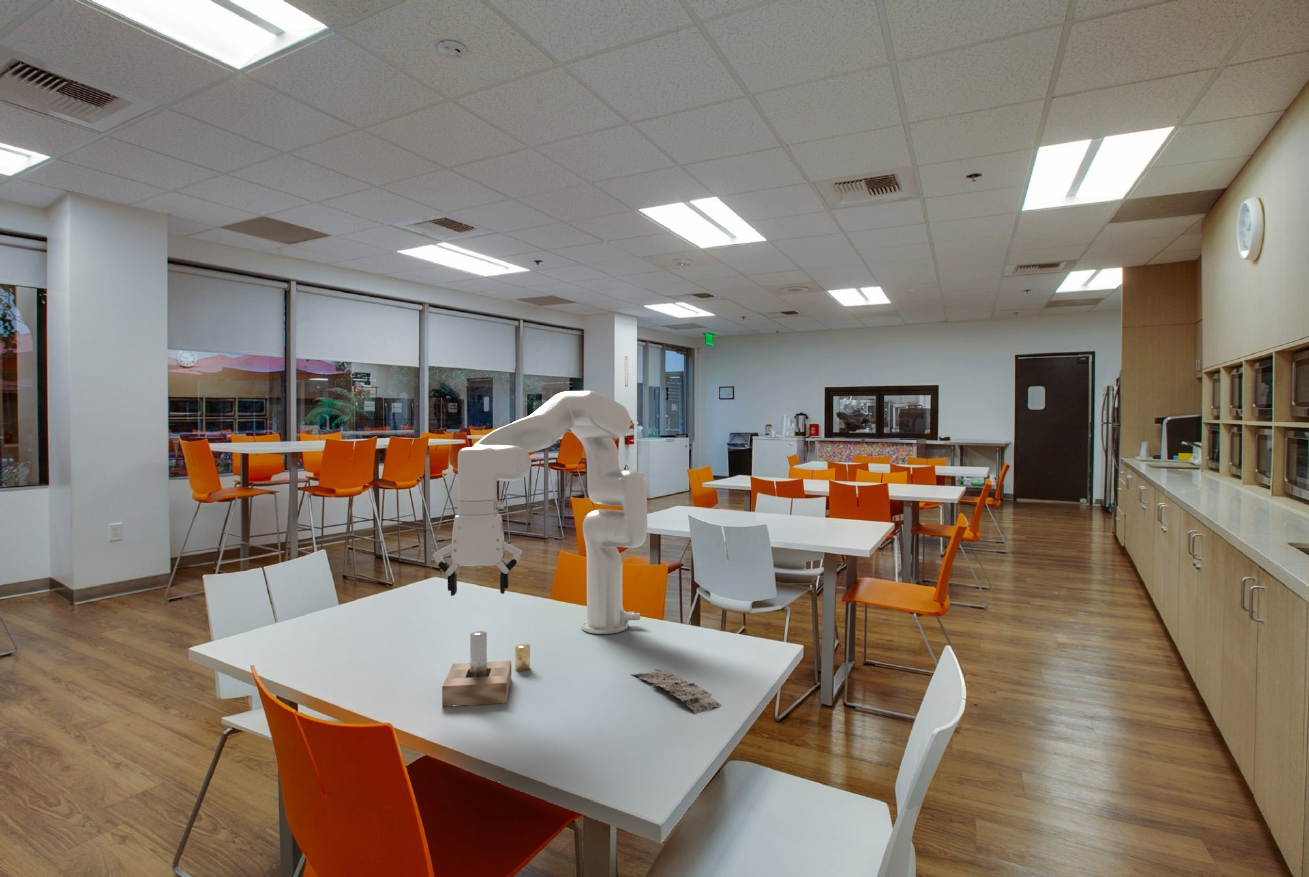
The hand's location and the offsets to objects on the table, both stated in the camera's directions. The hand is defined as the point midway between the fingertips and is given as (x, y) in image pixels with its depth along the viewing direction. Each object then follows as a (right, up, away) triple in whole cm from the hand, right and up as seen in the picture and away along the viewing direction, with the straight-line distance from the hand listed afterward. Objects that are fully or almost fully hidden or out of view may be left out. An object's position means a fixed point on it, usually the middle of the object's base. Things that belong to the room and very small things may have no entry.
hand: (478, 593), depth 129 cm
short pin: (+6, -20, +13) cm, 25 cm away
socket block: (0, -20, 0) cm, 20 cm away
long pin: (0, -20, 0) cm, 20 cm away
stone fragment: (+39, -21, +2) cm, 44 cm away
